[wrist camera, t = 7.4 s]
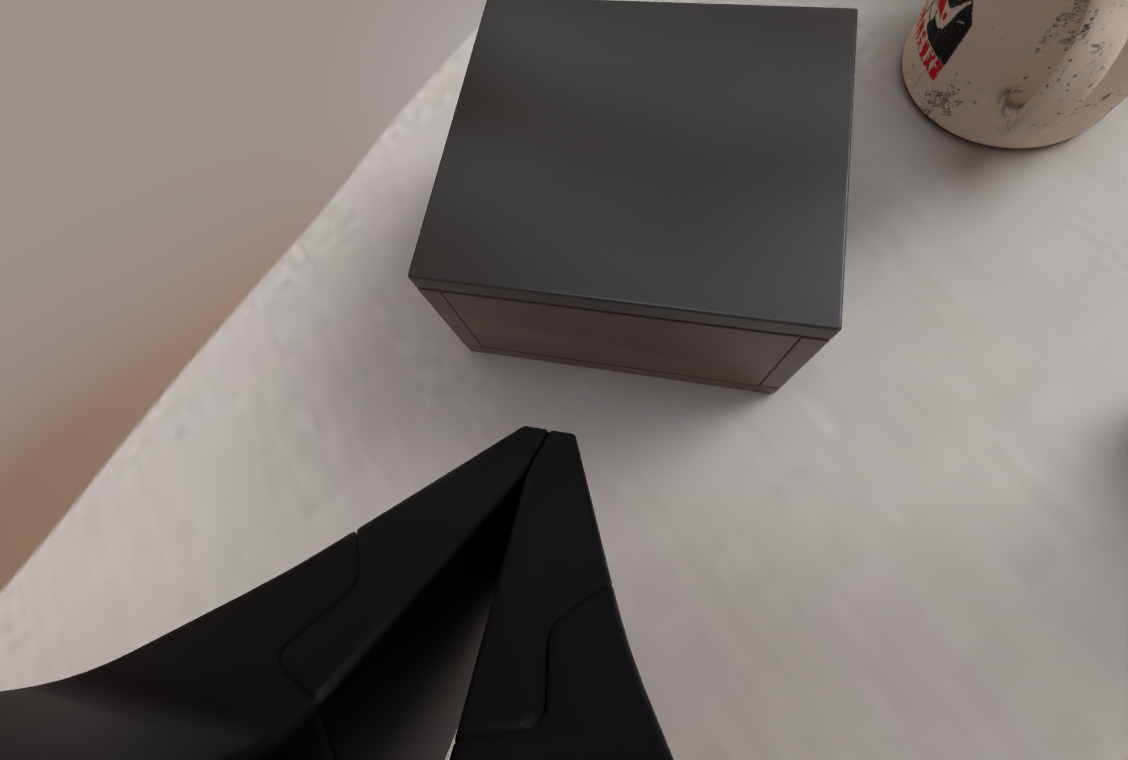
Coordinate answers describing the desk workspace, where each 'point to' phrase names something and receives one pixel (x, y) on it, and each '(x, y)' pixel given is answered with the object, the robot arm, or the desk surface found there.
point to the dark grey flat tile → (651, 162)
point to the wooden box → (625, 341)
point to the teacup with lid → (1018, 67)
